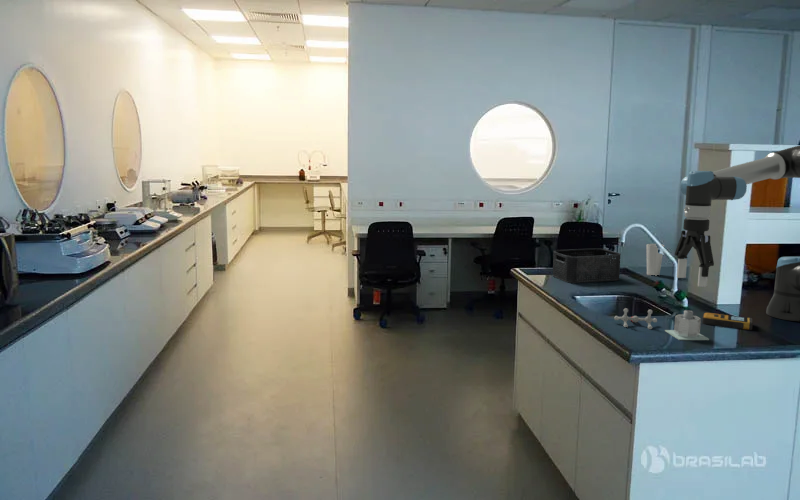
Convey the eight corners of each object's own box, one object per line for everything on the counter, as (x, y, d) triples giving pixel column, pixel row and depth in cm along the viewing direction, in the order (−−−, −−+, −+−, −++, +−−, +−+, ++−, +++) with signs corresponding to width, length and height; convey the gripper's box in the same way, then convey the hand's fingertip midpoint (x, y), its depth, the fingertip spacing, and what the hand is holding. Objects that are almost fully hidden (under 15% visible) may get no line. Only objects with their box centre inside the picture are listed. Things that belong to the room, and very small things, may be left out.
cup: (645, 276, 295) (647, 245, 293) (642, 272, 303) (644, 243, 301) (663, 276, 293) (666, 246, 291) (660, 273, 301) (662, 244, 299)
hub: (691, 331, 200) (693, 314, 199) (702, 337, 193) (704, 320, 192) (670, 331, 200) (672, 314, 199) (681, 337, 193) (682, 320, 192)
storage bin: (568, 283, 277) (570, 256, 275) (549, 275, 295) (550, 249, 293) (622, 281, 283) (624, 254, 281) (600, 273, 302) (601, 247, 300)
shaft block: (693, 331, 202) (695, 307, 200) (709, 340, 192) (711, 315, 191) (664, 331, 202) (666, 307, 200) (679, 340, 192) (681, 315, 190)
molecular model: (612, 331, 215) (617, 330, 205) (611, 310, 216) (615, 308, 207) (654, 330, 212) (661, 329, 203) (652, 309, 214) (659, 307, 204)
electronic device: (702, 320, 218) (703, 311, 218) (751, 325, 210) (752, 316, 210) (701, 325, 211) (702, 316, 210) (752, 331, 203) (752, 322, 203)
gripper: (667, 214, 203) (662, 274, 206) (706, 222, 178) (700, 290, 181) (688, 214, 203) (683, 274, 206) (730, 222, 178) (723, 290, 182)
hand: (691, 281), depth 194 cm, fingers open, 13 cm apart
